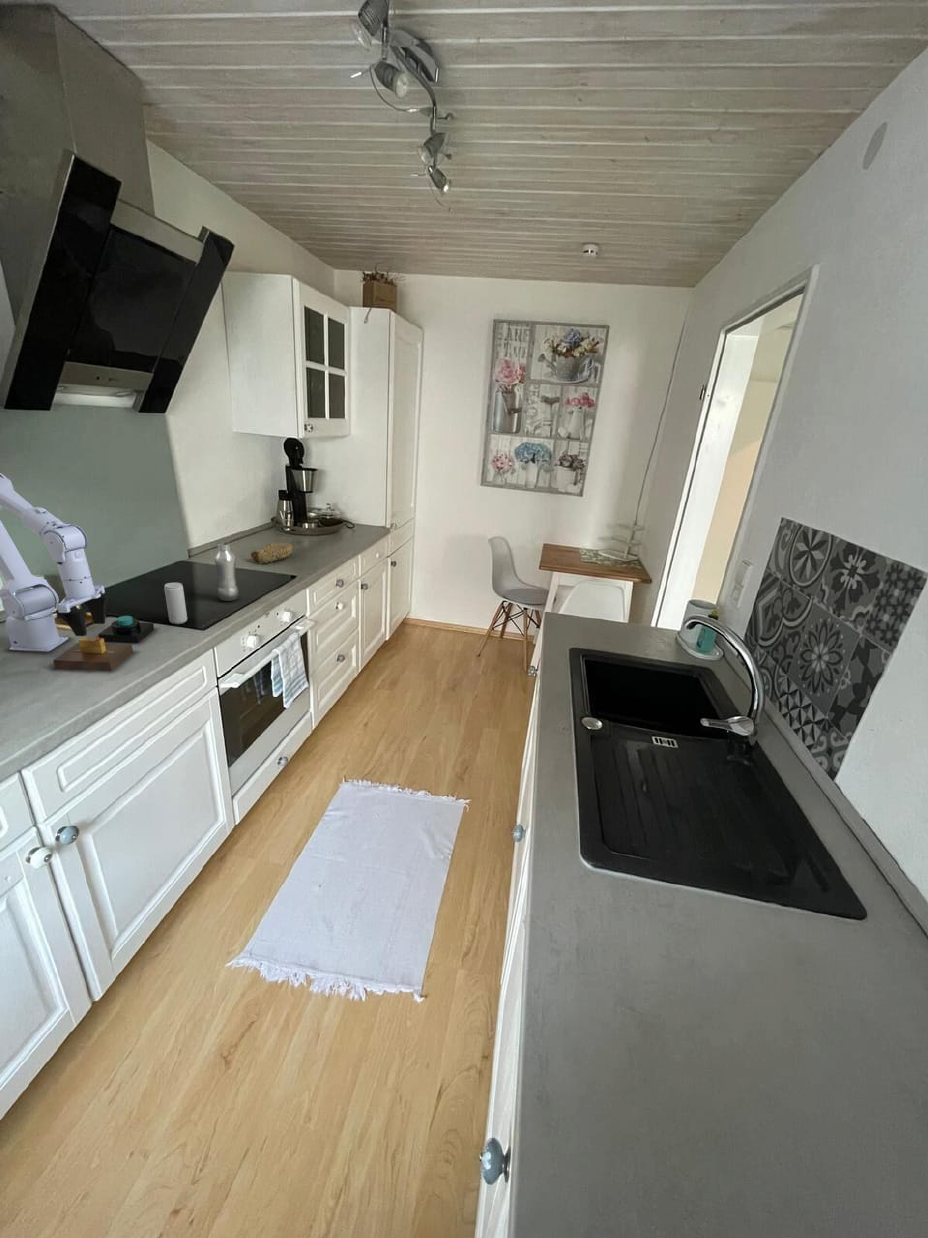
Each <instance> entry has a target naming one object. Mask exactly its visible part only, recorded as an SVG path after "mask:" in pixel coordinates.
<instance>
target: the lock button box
mask: <svg viewBox="0 0 928 1238" xmlns="http://www.w3.org/2000/svg"><path fill="white" fill-rule="evenodd" d="M132 619H133V624H131V625H126V626H119V625H118V623H117V619H116V620H114V621H112V622H111V624H110V625H109V626H108V627H106V628H105V629H103V630H102V631H101V632H99V633H98V634H97V635H98V638H102V639H104V643H108V642H109V643H124V644H139V643H141V641H143V640H144V639H145V638H146V637H147V636H149V635H150V634H151V633H152V632H153V631H155V626H154V623H153V622H140V619H138V618H136V617H132Z"/></svg>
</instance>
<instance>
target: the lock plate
mask: <svg viewBox="0 0 928 1238" xmlns="http://www.w3.org/2000/svg"><path fill="white" fill-rule="evenodd" d="M104 643H105V647H106V651H105V652H104V653H103V654H102V653H81V649H80V644H79V641H78V642H76V643H75V644H74V645H73V646H71V647H69V648H68V649H67V650H65V651H64V652H62V653H61V654H60V655H58V656H57V657H55V658H54V659H52V661H53V666H54V669H55V670H75V671H77V670H78V671H99V672H100V671H103V672H113V671H114V670H115V669H116V668H117V667H119V665H120V664H122V663H123V662H125V660H126V659H128V658H129V657H130V656H131V655H132V654H134V649H133V645H132V643H111V642H109V643H108V642H104Z"/></svg>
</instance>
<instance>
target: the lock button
mask: <svg viewBox="0 0 928 1238" xmlns="http://www.w3.org/2000/svg"><path fill="white" fill-rule="evenodd" d="M132 618H133V616H131V615H122V616H119V617H117V618H116V620H117V623H118V625H119V626H126V625H131V624H133V619H132Z"/></svg>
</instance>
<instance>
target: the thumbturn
mask: <svg viewBox="0 0 928 1238" xmlns="http://www.w3.org/2000/svg"><path fill="white" fill-rule="evenodd" d="M78 642H79V644H80V649H81V653H102V654H103V653H104V652H105V651H106V647H105V643H106V642H104V639H102V638H99V637H81V638H79V639H78Z"/></svg>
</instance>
